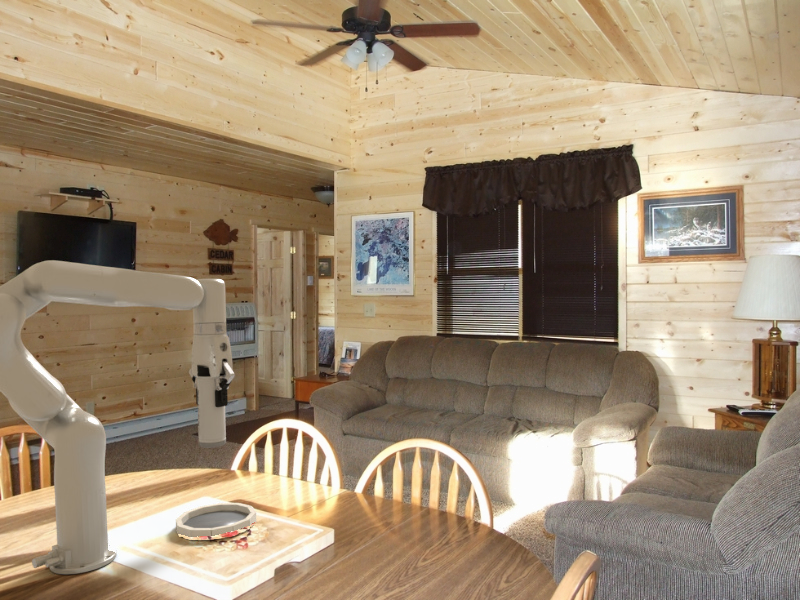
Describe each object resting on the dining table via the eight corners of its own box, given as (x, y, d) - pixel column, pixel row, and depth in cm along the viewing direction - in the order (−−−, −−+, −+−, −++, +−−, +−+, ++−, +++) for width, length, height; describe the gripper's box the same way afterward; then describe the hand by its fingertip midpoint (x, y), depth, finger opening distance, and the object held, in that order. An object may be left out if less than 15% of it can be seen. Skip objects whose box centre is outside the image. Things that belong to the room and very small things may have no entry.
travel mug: (230, 441, 154) (228, 359, 154) (220, 447, 148) (218, 362, 148) (205, 441, 155) (203, 360, 155) (194, 447, 148) (192, 362, 148)
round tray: (209, 547, 139) (209, 535, 139) (161, 531, 149) (160, 520, 149) (270, 520, 153) (270, 510, 153) (222, 508, 164) (222, 498, 164)
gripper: (246, 329, 149) (248, 405, 149) (200, 329, 159) (201, 400, 159) (221, 331, 143) (223, 410, 143) (174, 330, 153) (176, 404, 153)
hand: (211, 404), depth 151 cm, fingers closed on travel mug, 6 cm apart
